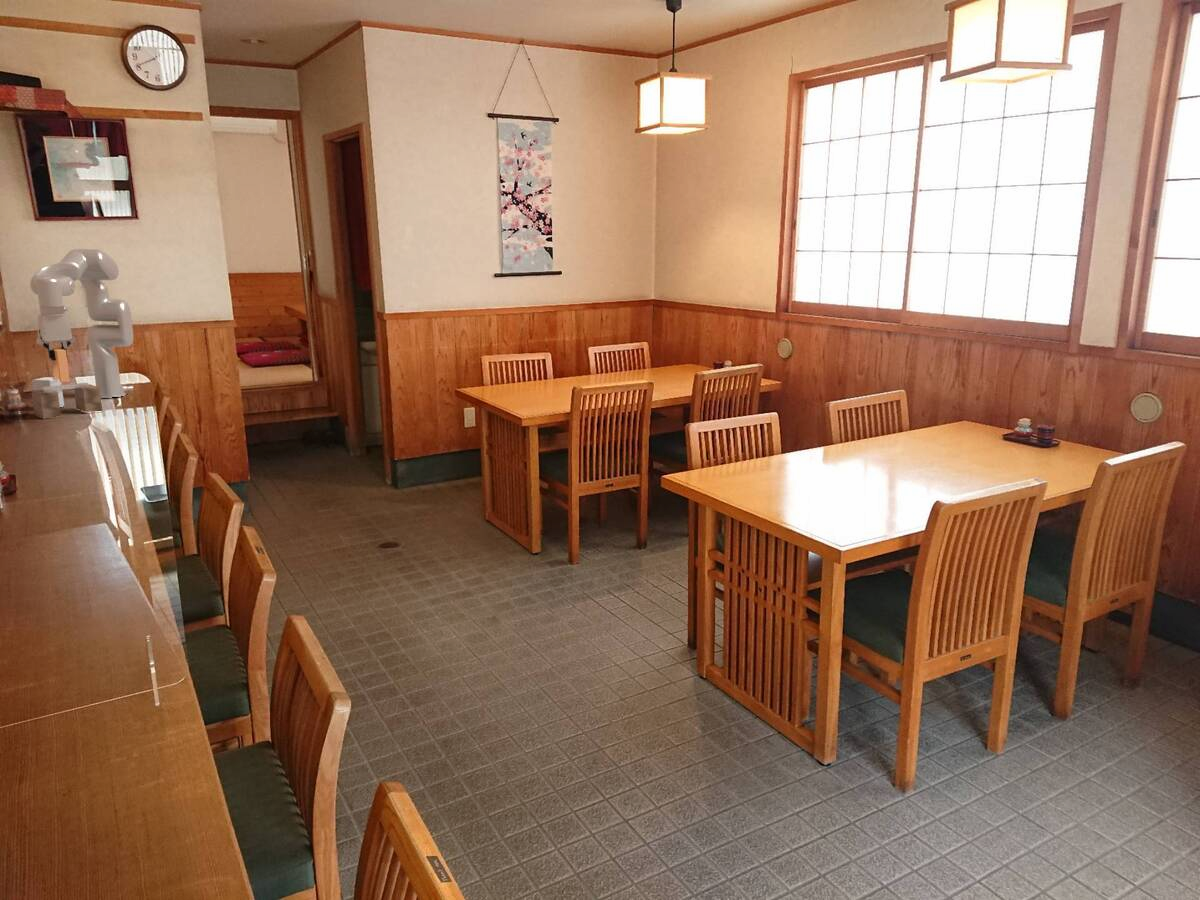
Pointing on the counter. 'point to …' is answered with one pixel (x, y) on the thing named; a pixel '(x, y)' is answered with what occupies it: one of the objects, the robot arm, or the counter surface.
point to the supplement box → (48, 382)
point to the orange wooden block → (60, 366)
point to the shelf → (49, 401)
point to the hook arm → (65, 387)
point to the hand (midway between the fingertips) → (58, 359)
